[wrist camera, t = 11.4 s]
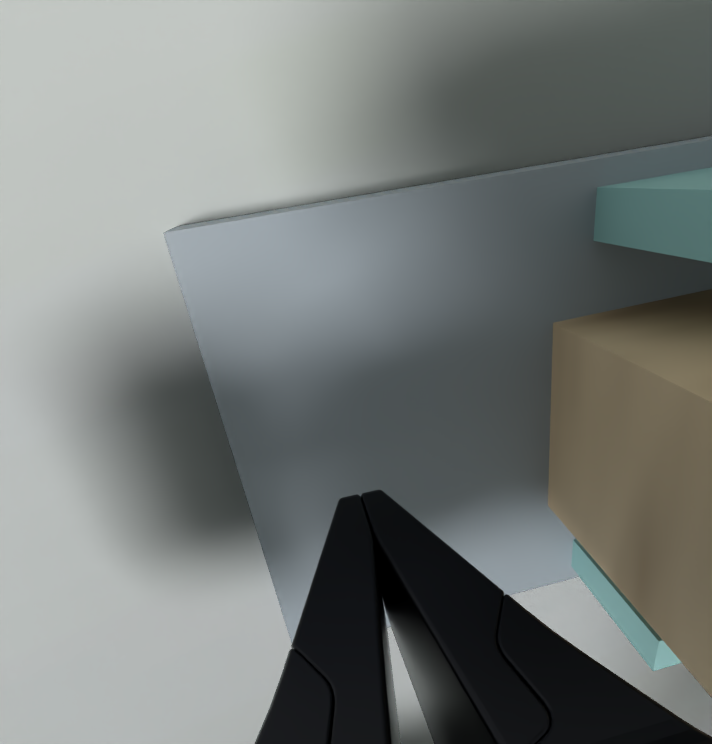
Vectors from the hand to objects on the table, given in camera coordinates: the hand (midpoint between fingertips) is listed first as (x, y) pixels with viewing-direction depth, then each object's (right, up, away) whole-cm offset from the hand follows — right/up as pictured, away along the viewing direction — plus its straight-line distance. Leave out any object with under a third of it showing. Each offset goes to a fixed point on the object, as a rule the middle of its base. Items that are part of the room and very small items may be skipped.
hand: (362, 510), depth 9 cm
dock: (+4, +2, +3) cm, 6 cm away
